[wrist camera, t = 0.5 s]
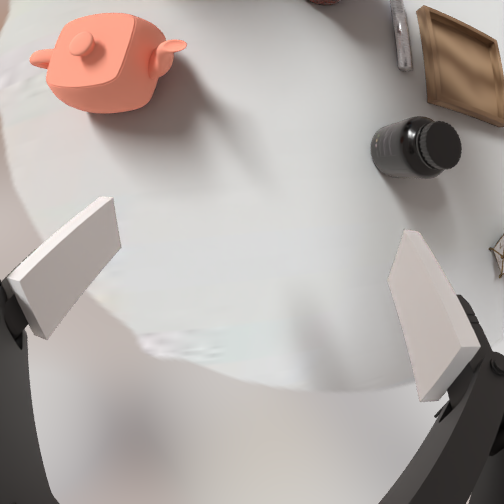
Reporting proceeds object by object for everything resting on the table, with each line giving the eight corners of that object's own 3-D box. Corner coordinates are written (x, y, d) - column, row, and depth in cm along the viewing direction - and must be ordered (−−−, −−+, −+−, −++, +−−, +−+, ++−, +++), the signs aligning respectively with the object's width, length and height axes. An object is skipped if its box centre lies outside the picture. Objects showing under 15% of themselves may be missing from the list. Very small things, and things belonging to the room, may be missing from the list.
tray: (416, 11, 29) (423, 5, 27) (488, 43, 30) (496, 40, 28) (427, 102, 33) (437, 99, 31) (499, 127, 34) (509, 126, 31)
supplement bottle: (417, 137, 35) (473, 129, 23) (407, 184, 36) (462, 190, 25) (374, 117, 34) (423, 99, 22) (362, 167, 36) (411, 166, 24)
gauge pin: (387, 1, 29) (393, -4, 27) (399, 5, 29) (405, 0, 27) (396, 68, 32) (402, 64, 30) (408, 71, 32) (415, 68, 30)
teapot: (56, 116, 32) (1, 103, 21) (77, 39, 30) (33, 8, 18) (192, 125, 34) (169, 102, 22) (213, 39, 31) (202, -10, 19)
